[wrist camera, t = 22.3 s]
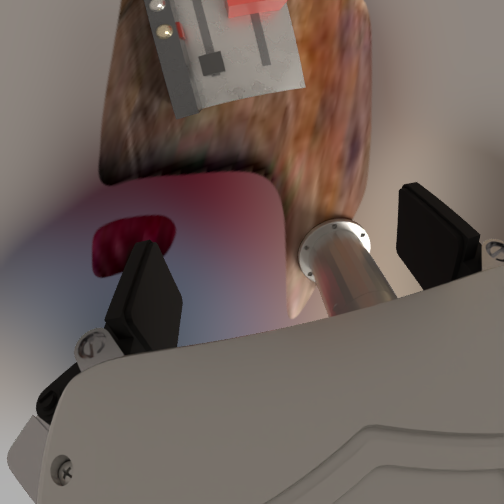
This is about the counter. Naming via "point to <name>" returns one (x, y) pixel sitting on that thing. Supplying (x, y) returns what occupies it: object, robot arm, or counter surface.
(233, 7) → the matte red cuboid
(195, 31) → the grey slider control panel
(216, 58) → the block
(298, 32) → the counter surface
